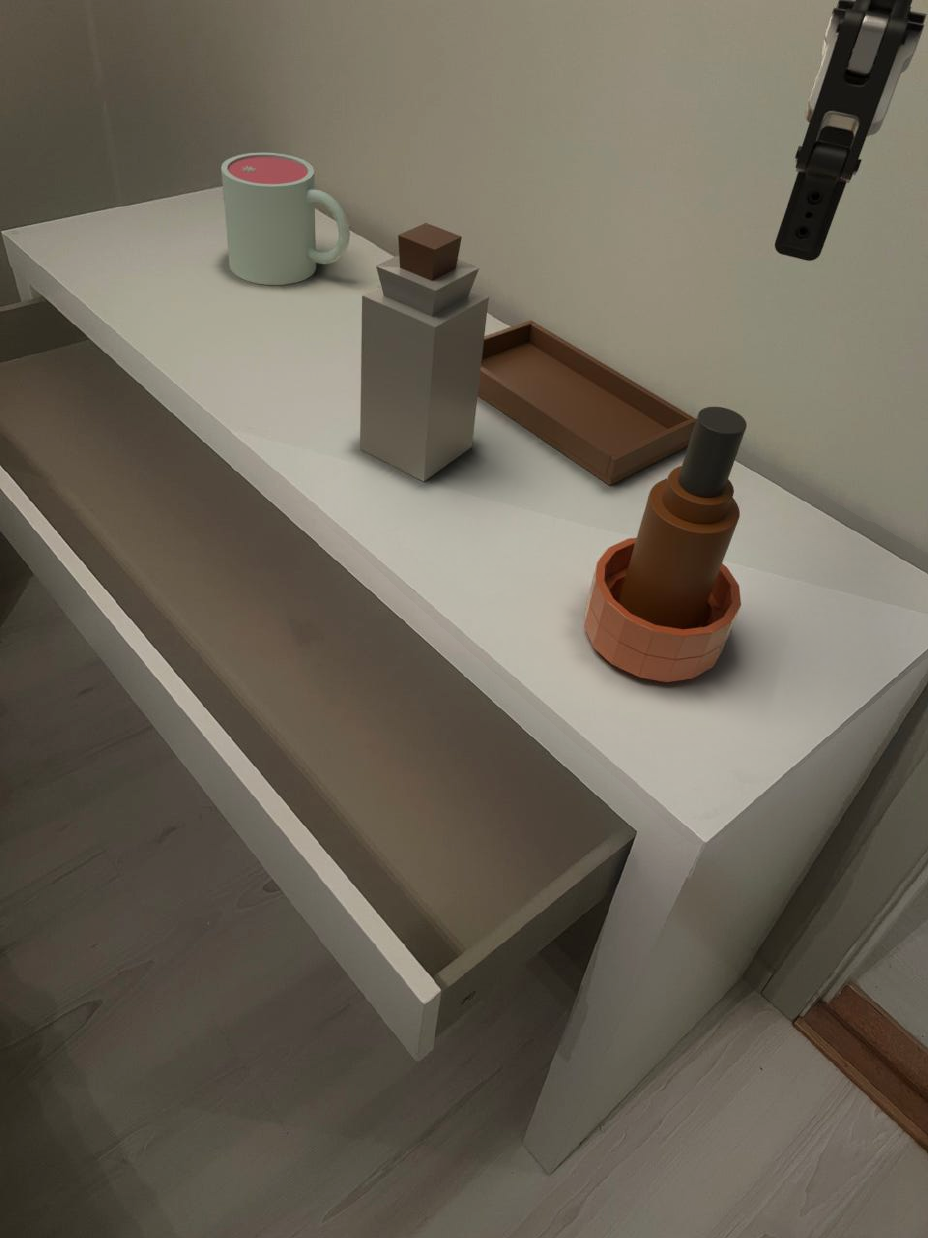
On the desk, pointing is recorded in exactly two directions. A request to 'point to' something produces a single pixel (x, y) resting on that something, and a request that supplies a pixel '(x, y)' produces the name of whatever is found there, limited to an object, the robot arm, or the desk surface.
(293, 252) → the mug
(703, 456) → the bottle
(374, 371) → the perfume bottle
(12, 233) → the desk surface
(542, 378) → the tray
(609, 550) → the bowl
